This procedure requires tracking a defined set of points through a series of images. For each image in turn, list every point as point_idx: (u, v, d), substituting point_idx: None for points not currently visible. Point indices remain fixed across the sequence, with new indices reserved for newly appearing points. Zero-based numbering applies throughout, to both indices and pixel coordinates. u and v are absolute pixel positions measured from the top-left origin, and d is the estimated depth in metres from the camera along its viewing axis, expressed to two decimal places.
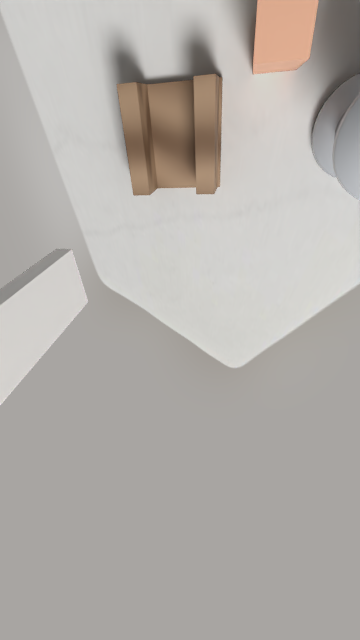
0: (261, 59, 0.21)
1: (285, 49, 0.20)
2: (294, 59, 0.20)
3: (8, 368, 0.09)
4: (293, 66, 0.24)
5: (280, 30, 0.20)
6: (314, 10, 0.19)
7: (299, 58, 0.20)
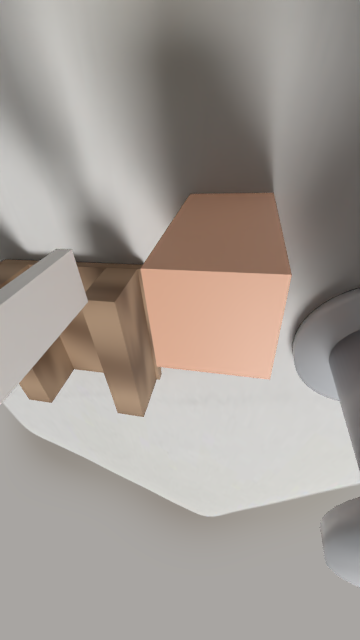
0: (171, 363, 0.10)
1: (217, 361, 0.09)
2: (239, 372, 0.10)
3: (8, 368, 0.09)
4: None
5: (202, 336, 0.09)
6: (275, 323, 0.08)
7: (249, 375, 0.09)
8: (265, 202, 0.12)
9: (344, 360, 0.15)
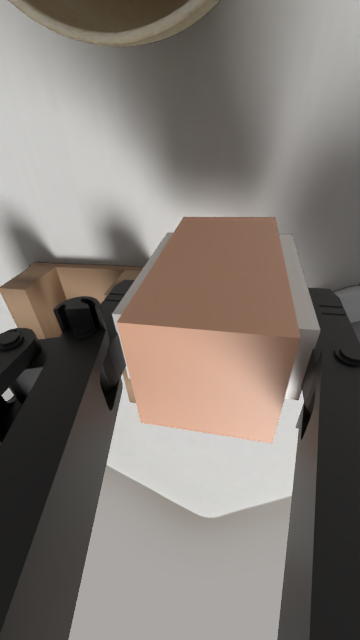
0: (157, 420, 0.09)
1: (211, 421, 0.08)
2: None
3: None
4: None
5: (193, 396, 0.07)
6: (279, 387, 0.07)
7: (248, 438, 0.08)
8: (266, 230, 0.11)
9: None
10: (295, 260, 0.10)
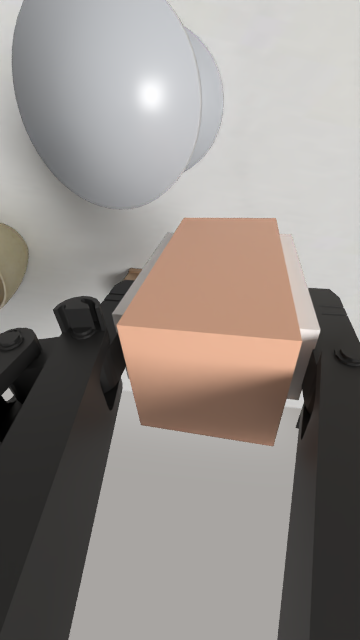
0: (157, 423, 0.08)
1: (211, 424, 0.08)
2: None
3: None
4: None
5: (193, 399, 0.07)
6: (280, 391, 0.07)
7: (248, 440, 0.08)
8: (267, 231, 0.11)
9: None
10: (295, 260, 0.10)
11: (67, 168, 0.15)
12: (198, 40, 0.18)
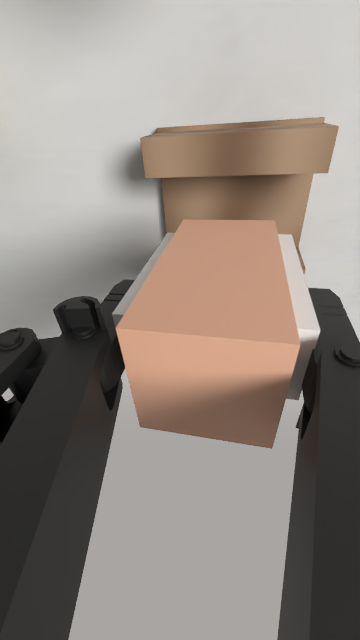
0: (156, 425, 0.08)
1: (210, 427, 0.08)
2: None
3: None
4: None
5: (192, 401, 0.07)
6: (279, 393, 0.07)
7: (247, 443, 0.08)
8: (266, 233, 0.11)
9: None
10: (295, 260, 0.10)
11: None
12: None
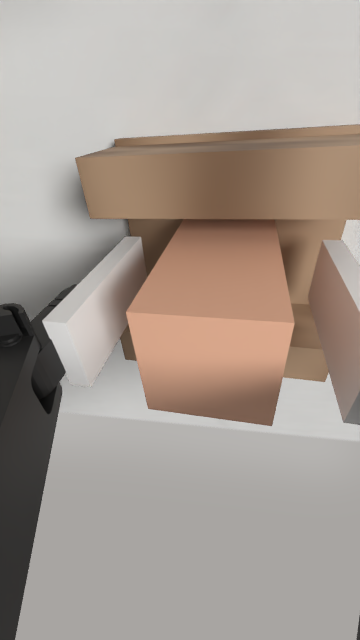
0: (163, 406, 0.09)
1: (214, 406, 0.09)
2: None
3: (102, 343, 0.10)
4: None
5: (196, 381, 0.08)
6: (277, 371, 0.07)
7: (249, 421, 0.09)
8: (265, 226, 0.11)
9: None
10: (358, 269, 0.09)
11: None
12: None
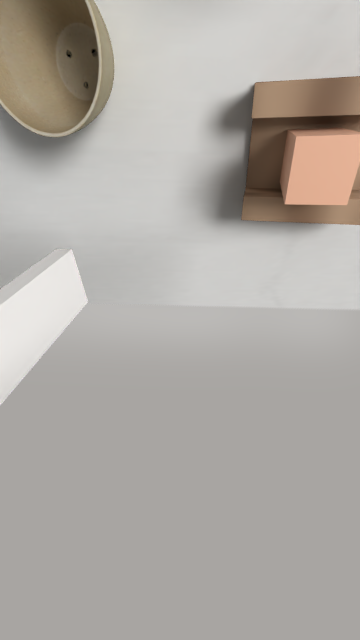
0: (294, 200, 0.19)
1: (321, 195, 0.19)
2: (330, 203, 0.19)
3: (8, 368, 0.09)
4: None
5: (316, 178, 0.18)
6: (356, 164, 0.17)
7: (336, 204, 0.19)
8: (337, 128, 0.21)
9: None
10: None
11: None
12: None
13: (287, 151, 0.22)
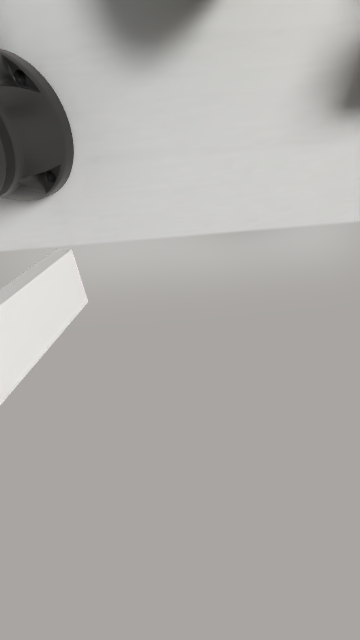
0: None
1: None
2: None
3: (8, 368, 0.09)
4: None
5: None
6: None
7: None
8: None
9: None
10: None
11: None
12: None
13: None
